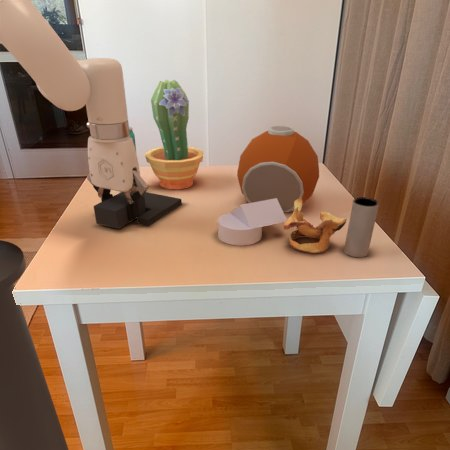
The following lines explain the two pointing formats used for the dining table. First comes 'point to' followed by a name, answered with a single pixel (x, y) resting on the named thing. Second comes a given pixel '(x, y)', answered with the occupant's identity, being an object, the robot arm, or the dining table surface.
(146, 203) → the base pad
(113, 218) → the black rectangular block
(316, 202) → the dining table surface
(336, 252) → the dining table surface
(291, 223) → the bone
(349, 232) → the grey cylinder
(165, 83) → the potted cactus
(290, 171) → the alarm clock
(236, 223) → the wedge on round base
